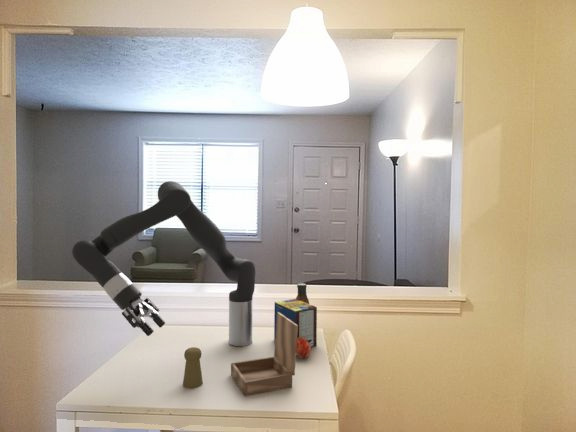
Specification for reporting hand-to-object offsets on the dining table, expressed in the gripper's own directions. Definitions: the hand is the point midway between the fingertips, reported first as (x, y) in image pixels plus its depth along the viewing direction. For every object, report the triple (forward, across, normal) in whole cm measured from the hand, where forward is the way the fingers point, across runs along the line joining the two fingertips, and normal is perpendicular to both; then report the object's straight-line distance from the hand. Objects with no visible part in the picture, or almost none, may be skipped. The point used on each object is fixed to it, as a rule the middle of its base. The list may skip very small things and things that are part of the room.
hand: (157, 329), depth 127 cm
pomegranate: (+42, +26, -19) cm, 53 cm away
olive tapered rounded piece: (+20, 0, +4) cm, 20 cm away
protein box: (+39, +40, -17) cm, 59 cm away
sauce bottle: (+40, +58, -18) cm, 72 cm away
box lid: (+31, +9, -24) cm, 40 cm away
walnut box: (+34, +5, -11) cm, 36 cm away
